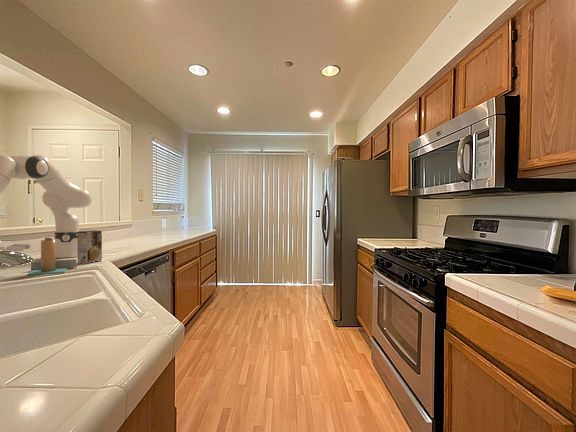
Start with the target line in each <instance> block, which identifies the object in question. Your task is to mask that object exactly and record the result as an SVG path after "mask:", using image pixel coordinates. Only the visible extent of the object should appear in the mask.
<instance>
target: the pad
mask: <svg viewBox="0 0 576 432" xmlns="http://www.w3.org/2000/svg"><path fill="white" fill-rule="evenodd" d="M66 271H68V268H59V269H56V270H55V271H50V272H41V270H33V271H31V270H30V272H27V276H38V275H39V276H40V275H50V274H51V275H53V274H64V273H66Z"/></svg>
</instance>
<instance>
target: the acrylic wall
mask: <svg viewBox="0 0 576 432" xmlns="http://www.w3.org/2000/svg"><path fill="white" fill-rule="evenodd" d="M74 267H76V268H77V258H75V259H74V258H73V259H71V258H70V259H56V269H59V268H72V269H75V268H74ZM33 270H41V260H37V261H36V260H35V261H30V272H31V271H33Z"/></svg>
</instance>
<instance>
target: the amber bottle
mask: <svg viewBox="0 0 576 432" xmlns="http://www.w3.org/2000/svg"><path fill="white" fill-rule="evenodd" d="M56 260H57V258H56V240H55V239H53V237H45V238H44V239H42V240H40V261H41V272H50V271H55V270H56Z"/></svg>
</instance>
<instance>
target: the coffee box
mask: <svg viewBox="0 0 576 432" xmlns="http://www.w3.org/2000/svg"><path fill="white" fill-rule="evenodd" d="M102 234H103V233H102V230H95V229H94V230H79V232H77V257H76V264H80V263H89V264H91V263H90V262H94V263H96V262H95V261H99V262H102V261H103V256H102V255H103V251H102V250H103V249H102V248H103V247H102V245H103V244H102V242H103V241H102V240H103V239H102ZM101 260H102V261H101Z"/></svg>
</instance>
